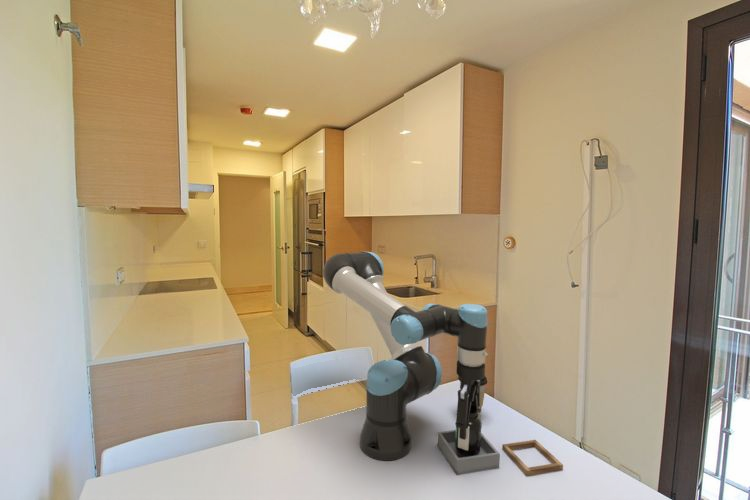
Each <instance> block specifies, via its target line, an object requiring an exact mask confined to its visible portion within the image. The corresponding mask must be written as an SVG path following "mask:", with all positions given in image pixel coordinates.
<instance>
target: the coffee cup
mask: <svg viewBox="0 0 750 500" xmlns="http://www.w3.org/2000/svg"><path fill="white" fill-rule="evenodd" d="M457 379H458V381H459V383H460V384H459V390H461V382H463V379H462V378H461V377H460V376H458V375H457ZM487 384H488V378H487V377H486V375H485V376H484V378H483V379H481V380H480V406H479V407H478V408H479V409H481V410H482V407H483V404H484V400H485V392H486V385H487ZM481 415H482V411H481V412H480V413H479V412H478V418H479V419H480V420H481Z"/></svg>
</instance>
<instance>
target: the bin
mask: <svg viewBox="0 0 750 500" xmlns="http://www.w3.org/2000/svg"><path fill="white" fill-rule="evenodd" d="M455 435H456V429H452V430H445V431H438V432H437V447H438V448H439V450H440V451H441V453H442V455H443V456H444V457H445V460H446V462H448V463H449V466H450V467H451V468H452V470H453V471H454V473H455V474H456V476H458V475H464V474H470V473H477V472H482V471H488V470H494V469H495V470H496V469H499V468H500V459H501V458H500V457H501V453H500V451H498V450H497V449H496V447H494V446H493V444H492V443H490V441H489V440H488V439H487V438H486V436H485V435H484V434H483V433H482V432H481V446H480V453H479V454H478V455H476V456H470V457H467V456H463V455H461V454H460V453H459V452H458V451H457V450H456V448H455Z"/></svg>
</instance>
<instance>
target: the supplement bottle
mask: <svg viewBox="0 0 750 500" xmlns="http://www.w3.org/2000/svg"><path fill="white" fill-rule="evenodd" d="M468 426H469V447H468V451H467V450H464V449H461V448H459V447H458V430H459V427H456V426H455V430H456V435H455V448H456V450H457V451H458V452H459V453H460V454H461V455H463V456H467V457H470V456H476V455H478V454H479V453H480V446H481V433H482V421H481V418H480V419H479V418H478V409H477V408H476V407H475V406H472V405H471V409H470V416H469V423H468Z"/></svg>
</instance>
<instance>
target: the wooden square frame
mask: <svg viewBox="0 0 750 500" xmlns="http://www.w3.org/2000/svg"><path fill="white" fill-rule="evenodd" d="M501 447H502V451H503V452H504V453H505V454H506V455H507V456H508V458H510V460H511V461H512V462H513V463H514V464H515V465H516V466H517V468H519V469H520V471H521V472H522V473H523V474H524V475H525V476H526V477H530V476H531V477H532V476H536V475H543V474H547V473H548V474H549V473H553V472H554V473H555V472H561V471H563V469H564V464H563V463H562V462H561V461H559V459H557V458H556V457H555V456H554V455H553V454H552V453H551V452H550V451H548V449H546V448H545V447H544V446H543V445H542V444H541V443H540V442H539V441H537V440H536V439H530V440H523V441H517V442H511V443H510V442H509V443H504V444H502V446H501ZM531 448H535V449H536V450H537V451H538V452H539V453H540V454H541V455H542V456H544V458H545V459H547V460H548V462H550V463H548V464H541V465H536V466H531V467H528V466H527V465H526V464H525V463H524V461H522V460H521V459H520V458H519V456H518V455H517V454H515V452H514V451H517V450H518V451H519V450H523V449H531Z"/></svg>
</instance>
